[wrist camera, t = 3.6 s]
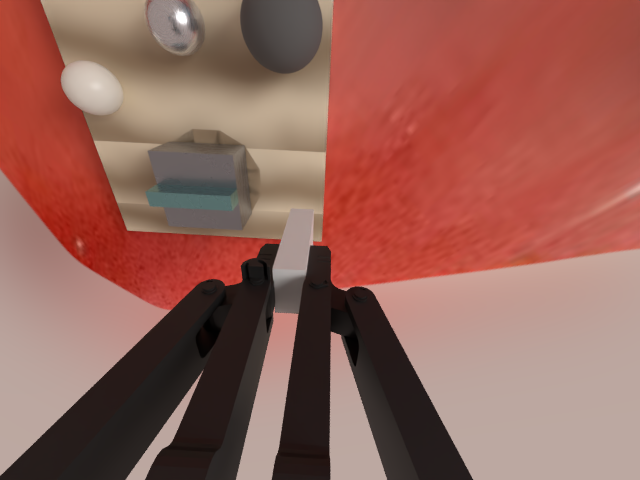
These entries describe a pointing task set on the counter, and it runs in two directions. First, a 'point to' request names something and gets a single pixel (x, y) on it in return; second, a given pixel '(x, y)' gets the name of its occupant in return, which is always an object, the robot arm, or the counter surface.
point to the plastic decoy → (92, 87)
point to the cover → (201, 185)
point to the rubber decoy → (282, 32)
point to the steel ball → (175, 25)
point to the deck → (202, 109)
